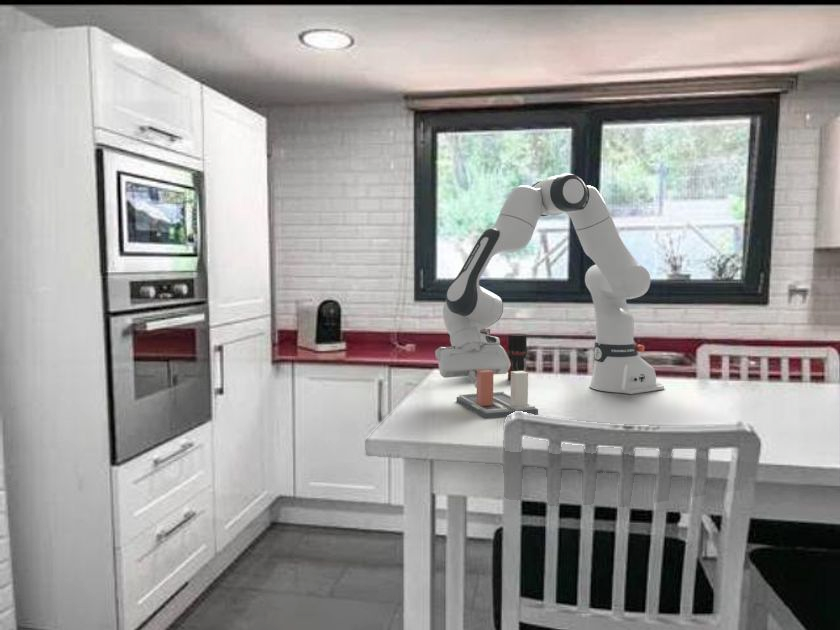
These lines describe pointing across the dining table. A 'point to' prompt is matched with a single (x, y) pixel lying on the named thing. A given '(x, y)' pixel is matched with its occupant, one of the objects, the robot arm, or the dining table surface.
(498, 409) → the slotted fader panel
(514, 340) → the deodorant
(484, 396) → the block
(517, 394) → the block
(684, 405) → the dining table surface
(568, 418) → the dining table surface
